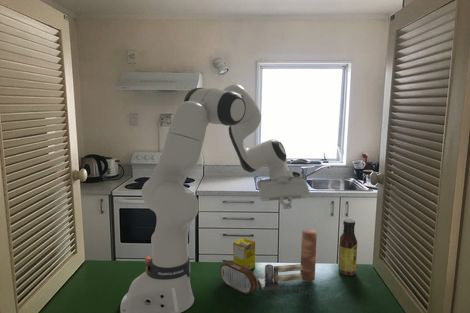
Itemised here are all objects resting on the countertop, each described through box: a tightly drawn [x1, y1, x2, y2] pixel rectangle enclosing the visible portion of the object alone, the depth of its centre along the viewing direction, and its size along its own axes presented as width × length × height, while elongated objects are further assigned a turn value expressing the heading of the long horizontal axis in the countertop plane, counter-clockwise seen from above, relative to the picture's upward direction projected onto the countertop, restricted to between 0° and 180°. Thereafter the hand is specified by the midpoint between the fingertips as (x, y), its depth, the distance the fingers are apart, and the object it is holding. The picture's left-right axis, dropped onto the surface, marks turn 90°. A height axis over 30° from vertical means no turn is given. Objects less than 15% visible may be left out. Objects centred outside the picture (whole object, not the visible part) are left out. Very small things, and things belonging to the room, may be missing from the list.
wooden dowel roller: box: [273, 228, 318, 283], centre depth 119 cm, size 15×5×17 cm, turn 100°
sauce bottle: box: [338, 219, 358, 277], centre depth 127 cm, size 6×6×20 cm
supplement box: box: [232, 237, 256, 271], centre depth 130 cm, size 6×6×11 cm
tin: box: [219, 260, 258, 295], centre depth 117 cm, size 15×3×8 cm, turn 47°
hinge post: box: [257, 264, 281, 292], centre depth 119 cm, size 6×6×7 cm
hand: (287, 208), depth 136 cm, fingers closed
